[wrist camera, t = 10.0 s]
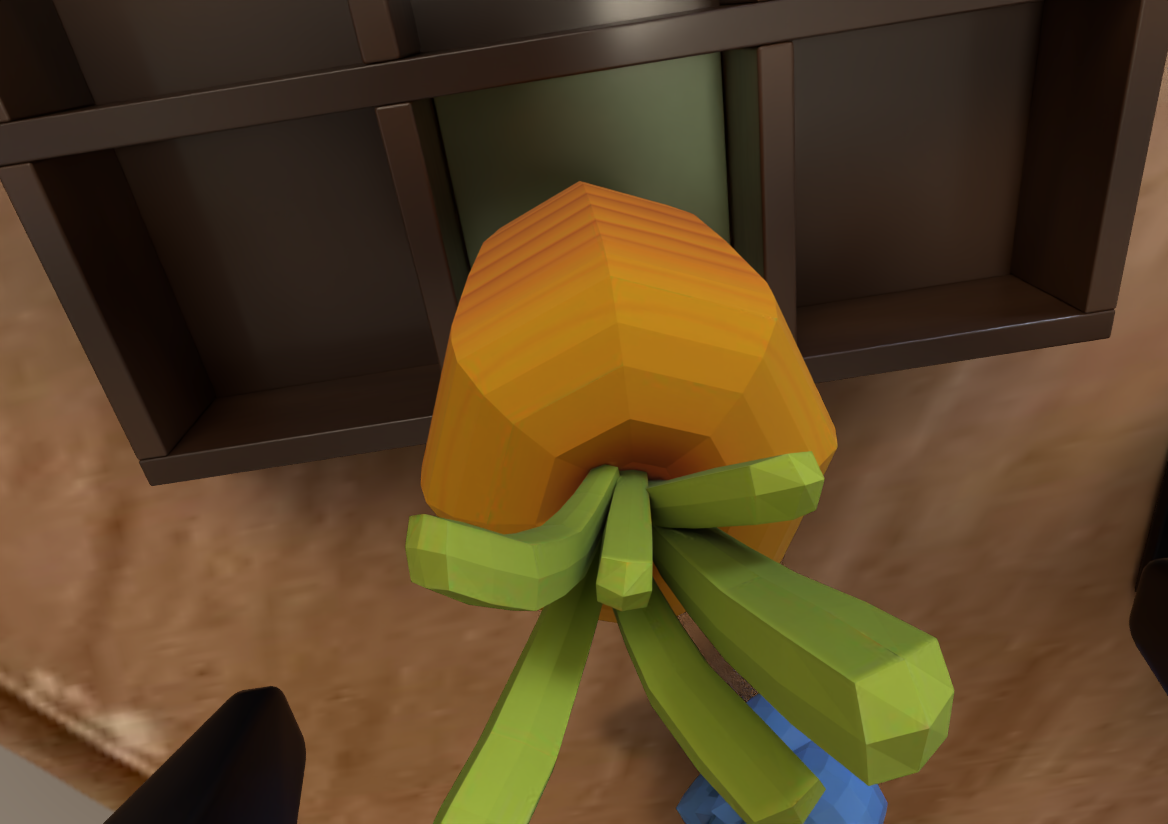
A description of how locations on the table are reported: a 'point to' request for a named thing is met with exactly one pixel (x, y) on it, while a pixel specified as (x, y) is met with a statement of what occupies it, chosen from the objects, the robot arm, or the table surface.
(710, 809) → the grapes
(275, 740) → the robot arm
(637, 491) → the carrot
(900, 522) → the table surface
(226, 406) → the wooden compartment organizer
